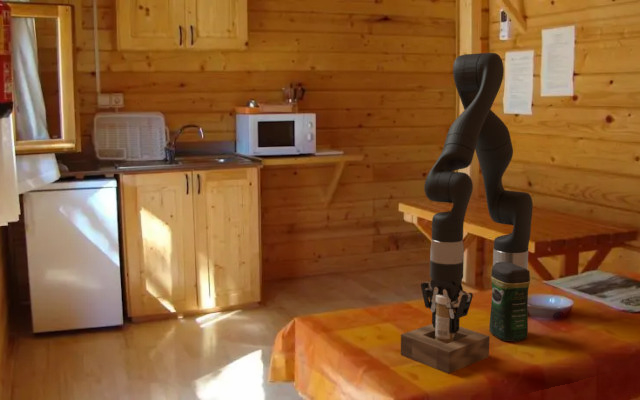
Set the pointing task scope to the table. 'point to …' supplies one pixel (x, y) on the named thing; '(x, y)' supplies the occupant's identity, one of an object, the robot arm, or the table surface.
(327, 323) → the table surface
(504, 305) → the coffee jar
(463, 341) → the well block
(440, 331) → the sprinkles bottle
